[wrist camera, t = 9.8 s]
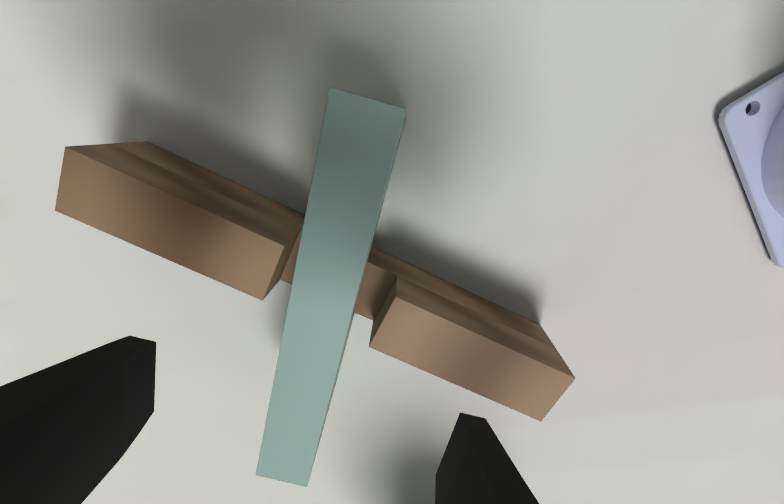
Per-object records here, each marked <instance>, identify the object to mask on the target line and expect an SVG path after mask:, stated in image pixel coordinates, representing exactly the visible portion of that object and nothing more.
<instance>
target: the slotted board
mask: <svg viewBox="0 0 784 504" xmlns="http://www.w3.org/2000/svg"><path fill="white" fill-rule="evenodd" d="M55 211H57V212H60V213H62V214H64V215H67V216H69V217H71V218H73V219H76V220H78V221H80V222H83V223H85V224H87V225H90V226H92V227H94V228H97V229H99V230H101V231H103V232H106V233H108V234H110V235H113V236H115V237H117V238H120V239H122V240H124V241H126V242H129V243H131V244H133V245H136V246H138V247H140V248H143V249H145V250H147V251H150V252H152V253H154V254H156V255H159V256H161V257H163V258H166V259H168V260H170V261H173V262H175V263H177V264H179V265H182V266H184V267H186V268H189V269H191V270H193V271H196V272H198V273H200V274H203V275H205V276H207V277H209V278H212V279H214V280H216V281H219V282H221V283H223V284H226V285H228V286H230V287H232V288H235V289H237V290H239V291H242V292H244V293H246V294H249V295H251V296H253V297H256V298H258V299H260V300H262V301H263V299H264V298H265V297H266V296H267V295H268V293H269V292H270V291H271V290H272V289H273V287H274V286H275V285H276V284H277V283H278V281H279V280H280V279H281V280H283V281H285V282H287V283H290V284H292V282H293V277H294V272H295V267H296V261H297V256H298V251H299V246H300V241H301V235H302V230H303V225H304V220H305V215H303V214H301V213H299V212H297V211H294V210H292V209H290V208H288V207H286V206H284V205H282V204H279V203H277V202H275V201H273V200H271V199H269V198H267V197H264V196H262V195H260V194H258V193H256V192H254V191H252V190H249V189H247V188H245V187H243V186H241V185H239V184H237V183H234V182H232V181H230V180H228V179H226V178H224V177H222V176H219V175H217V174H215V173H213V172H211V171H209V170H207V169H204V168H202V167H200V166H198V165H196V164H194V163H192V162H189V161H187V160H185V159H183V158H181V157H179V156H177V155H174V154H172V153H170V152H168V151H166V150H164V149H162V148H159V147H157V146H155V145H153V144H151V143H149V142H132V143H116V144H101V145H85V146H69V147H65V152H64V158H63V164H62V170H61V176H60V182H59V188H58V195H57V201H56V207H55ZM354 312H355V313H357V314H360V315H362V316H364V317H366V318H369V319H371V320H373V326H372V332H371V338H370V343H369V347H371V348H373V349H375V350H378V351H380V352H382V353H385V354H387V355H389V356H392V357H394V358H396V359H398V360H401V361H403V362H405V363H408V364H410V365H412V366H415V367H417V368H419V369H421V370H424V371H426V372H428V373H431V374H433V375H435V376H438V377H440V378H442V379H445V380H447V381H449V382H451V383H454V384H456V385H458V386H461V387H463V388H465V389H468V390H470V391H472V392H474V393H477V394H479V395H481V396H484V397H486V398H488V399H491V400H493V401H495V402H498V403H500V404H502V405H504V406H507V407H509V408H511V409H514V410H516V411H518V412H521V413H523V414H525V415H527V416H530V417H532V418H534V419H537V420H539V421H542V419H543V418H544V417H545V416H546V414H547V413H548V412H549V411H550V409H551V408H552V407H553V406H554V405H555V403H556V402H557V401H558V400H559V398H560V397H561V396H562V395H563V393H564V392H565V391H566V390H567V388H568V387H569V386H570V385H571V383H572V382H573V381H574V380H575V377H574V375H573V374H572V372H571V371H570V369H569V368H568V366H567V365H566V363H565V362H564V360H563V359H562V357H561V356H560V354H559V353H558V351H557V350H556V348H555V347H554V345H553V344H552V342H551V341H550V339H549V338H548V336H547V335H546V333H545V331H544V330H543V328H542V327H541V325H539V324H537V323H534V322H532V321H530V320H528V319H526V318H524V317H522V316H519V315H517V314H515V313H513V312H511V311H509V310H507V309H504V308H502V307H500V306H498V305H496V304H494V303H492V302H489V301H487V300H485V299H483V298H481V297H479V296H477V295H474V294H472V293H470V292H468V291H466V290H464V289H462V288H459V287H457V286H455V285H453V284H451V283H449V282H447V281H444V280H442V279H440V278H438V277H436V276H434V275H432V274H429V273H427V272H425V271H423V270H421V269H419V268H417V267H414V266H412V265H410V264H408V263H406V262H404V261H402V260H399V259H397V258H395V257H393V256H391V255H389V254H387V253H384V252H382V251H380V250H378V249H376V248H374V247H372V246H371V249H370V253H369V257H368V260H367V264H366V268H365V272H364V276H363V280H362V283H361V287H360V291H359V295H358V299H357V302H356V306H355V310H354Z"/></svg>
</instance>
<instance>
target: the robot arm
mask: <svg viewBox="0 0 784 504" xmlns="http://www.w3.org/2000/svg"><path fill="white" fill-rule="evenodd" d="M749 103H750V104H751V109H750V111H749V113H748V114H746V111H745V109H746V107H747V105H748V104H749ZM718 122H719V126H720V128H721V131H722V134H723V136H724V139H725V141H726V144H727V146H728V149H729V152H730V154H731V157H732V159H733V162H734V164H735V167H736V170H737V172H738V175H739V177H740V180H741V182H742V185H743V188H744V190H745V193H746V195H747V198H748V200H749V203H750V206H751V208H752V211H753V213H754V216H755V218H756V221H757V224H758V226H759V229H760V231H761V234H762V236H763V239H764V242H765V244H766V247H767V249H768V252H769V255H770V257H771V260H772V262H773V263H774V265H776V266H779V267H781V268H784V72H783V73H781V74H779V75H777V76H776V77H774V78H772V79H771V80H769V81H767V82H766V83H764V84H762V85H761V86H759V87H757V88H756V89H754V90H752V91H751V92H749V93H747V94H745V95H744V96H742V97H740V98H739V99H737V100H735V101H734V102H732V103H730V104H729V105H727V106H726V107H725V108H723V109H722V111H721V112H720V114H719V118H718ZM155 361H156V342H154V341H150V340H146V339H141V338H137V337H133V336H128V337H125V338H122V339H119V340H116V341H114V342H111V343H108V344H106V345H103V346H101V347H98V348H96V349H93V350H91V351H88V352H86V353H83V354H81V355H78V356H76V357H73V358H71V359H68V360H66V361H63V362H61V363H58V364H56V365H53V366H51V367H48V368H46V369H43V370H41V371H38V372H36V373H33V374H31V375H28V376H26V377H23V378H21V379H18V380H16V381H13V382H10V383H8V384H5V385H3V386H0V504H81V503H82V502H83V501H84V500H85V499H86V498H87V496H88V495H89V494H90V493H91V492H92V491H93V490H94V488H95V487H96V486H97V485H98V484H99V483H100V482H101V480H102V479H103V478H104V477H105V476H106V475H107V473H108V472H109V471H110V470H111V469H112V468H113V467H114V465H115V464H116V463H117V462H118V461H119V459H120V458H121V457H122V456H123V455H124V453H125V452H126V451H127V449H128V448H129V446H130V445H131V444H132V442H133V441H134V439H135V438H136V437H137V435H138V434H139V432H140V431H141V429H142V428H143V427H144V425H145V424H146V422H147V421H148V419H149V418H150V416H151V415H152V413H153V412H154V392H155ZM435 504H539V503H538V501H537V500H536V498H535V497H534V495H533V494H532V492H531V491H530V489H529V487H528V486H527V484H526V483H525V481H524V480H523V478H522V477H521V475H520V473H519V472H518V470H517V469H516V467H515V465H514V464H513V462H512V461H511V459H510V457H509V456H508V454H507V453H506V451H505V449H504V448H503V446H502V445H501V443H500V441H499V440H498V438H497V436H496V435H495V433H494V432H493V430H492V428H491V427H490V425H489V424H488V422H487V421H486V419H485V418H481V417H477V416H472V415H468V414H464V413H460V415H459V417H458V420H457V422H456V425H455V427H454V430H453V432H452V435H451V437H450V440H449V443H448V445H447V448H446V450H445V453H444V455H443V458H442V460H441V463H440V465H439V468H438V471H437V473H436V495H435Z"/></svg>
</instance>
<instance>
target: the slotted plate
mask: <svg viewBox="0 0 784 504" xmlns="http://www.w3.org/2000/svg"><path fill="white" fill-rule="evenodd" d="M405 118H406V111H405V109H404V108H400V107H397V106H393V105H390V104H386V103H383V102H379V101H376V100H372V99H369V98H365V97H362V96H358V95H355V94H351V93H348V92H344V91H341V90H337V89H334V88H330V89H329V94H328V99H327V104H326V110H325V115H324V120H323V125H322V131H321V136H320V141H319V146H318V152H317V157H316V162H315V167H314V172H313V178H312V183H311V188H310V193H309V199H308V204H307V209H306V214H305V220H304V225H303V230H302V235H301V241H300V246H299V251H298V256H297V261H296V267H295V272H294V277H293V282H292V288H291V293H290V298H289V303H288V309H287V314H286V319H285V324H284V329H283V335H282V340H281V345H280V350H279V356H278V361H277V366H276V371H275V377H274V382H273V387H272V392H271V398H270V403H269V408H268V413H267V418H266V424H265V429H264V434H263V439H262V445H261V450H260V455H259V460H258V466H257V471H256V475H258V476H262V477H266V478H271V479H275V480H279V481H283V482H288V483H292V484H296V485H301V486H305V487H307V485H308V481H309V477H310V474H311V470H312V467H313V463H314V460H315V456H316V452H317V449H318V445H319V442H320V438H321V435H322V431H323V427H324V424H325V420H326V417H327V413H328V410H329V406H330V402H331V399H332V395H333V392H334V388H335V385H336V381H337V377H338V373H339V369H340V366H341V362H342V358H343V354H344V350H345V346H346V343H347V339H348V335H349V331H350V327H351V324H352V320H353V316H354V310H355V306H356V302H357V299H358V295H359V291H360V287H361V283H362V280H363V276H364V272H365V268H366V264H367V260H368V257H369V253H370V249H371V245H372V241H373V237H374V234H375V230H376V227H377V224H378V220H379V217H380V213H381V209H382V205H383V202H384V198H385V194H386V190H387V186H388V182H389V179H390V175H391V171H392V167H393V163H394V160H395V156H396V152H397V148H398V144H399V141H400V137H401V133H402V129H403V125H404V121H405Z"/></svg>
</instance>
